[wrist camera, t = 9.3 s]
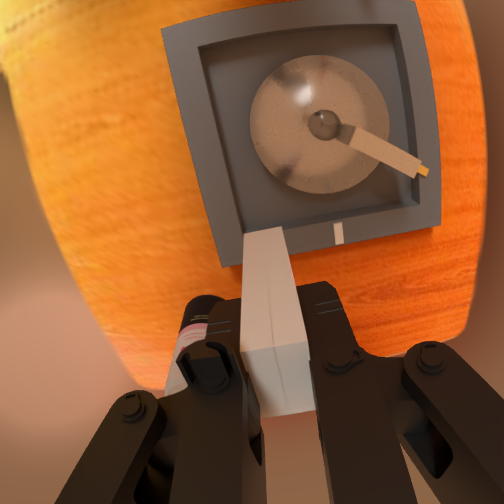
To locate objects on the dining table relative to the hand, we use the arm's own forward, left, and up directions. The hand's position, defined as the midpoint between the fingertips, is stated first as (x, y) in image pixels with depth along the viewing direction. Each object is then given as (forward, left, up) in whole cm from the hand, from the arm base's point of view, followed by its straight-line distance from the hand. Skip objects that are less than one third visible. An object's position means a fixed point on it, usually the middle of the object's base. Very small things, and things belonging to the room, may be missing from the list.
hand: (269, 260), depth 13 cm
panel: (-3, +7, -22) cm, 24 cm away
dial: (-3, +8, -21) cm, 23 cm away
